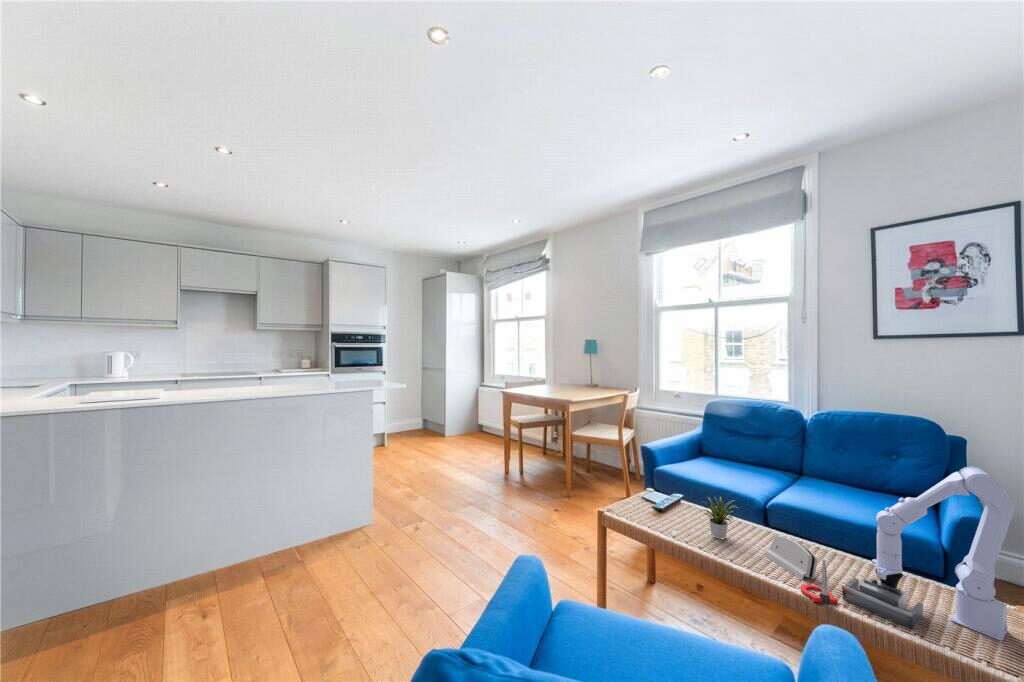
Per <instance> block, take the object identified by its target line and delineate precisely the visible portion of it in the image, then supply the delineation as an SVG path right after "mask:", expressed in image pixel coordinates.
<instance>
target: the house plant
mask: <svg viewBox="0 0 1024 682" xmlns="http://www.w3.org/2000/svg"><path fill="white" fill-rule="evenodd" d="M707 499H708V500H709V502H710V505H709V509H710V511H709V510H708V509H706V508H705V509H704V508H703V509H704V511H706V512H704V513H703V515H705V516H708V517H710V518H709V520H708V522H709V527H710V534H712V535H713V536H715V537H718V538H725V537H727V531H728V526H729V522H728V521H730V522H732V520H733V516H731V515H729V514H731V513H732V512H734V510H731V511H730V509H731V508H735V509H736V508H739V507H738V506H737V505H734V504H733V505H730V504H732V502H736V501H737V500H730V501H728V502H727V503H723V499H722V496H719V500H718V499H717V497H714V499H715V500H716V505H715V502H714V501H713V500H712V499H711V497H710V496H707ZM703 502H704V503H705V504H706V502H705V501H703ZM729 505H730V506H729ZM727 507H728V508H727ZM712 535H711V536H712ZM725 539H726V538H725Z"/></svg>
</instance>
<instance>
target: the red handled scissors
mask: <svg viewBox="0 0 1024 682" xmlns="http://www.w3.org/2000/svg"><path fill="white" fill-rule="evenodd" d="M821 563H822V564H821V565H822V566H821V586H818V585H815V584H802V585H801V586H800V592H801V593H802V594H804V595H805V596H806V597H808V598H810V599H811V600H812V602H813V603H821V604H827V605H831V604H832V605H833V604H834V605H838V604H839V602H838V601H839V600H838V599H837V598H835V597H834V595H833V593H832V592H830V591H829V590H828V581H827V580H828V579H827V577H828V575H827V566H826V560H825V559H822V562H821ZM808 590H815V591H818V592H819V596H818V595H815V594H813V593H811V592H809V591H808Z"/></svg>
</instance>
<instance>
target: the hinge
mask: <svg viewBox="0 0 1024 682" xmlns="http://www.w3.org/2000/svg"><path fill="white" fill-rule="evenodd" d="M764 556H765V557H766V558H768V559H769V560H770V561H772V562H774V563H775V562H776V563H775V564H776V565H778V566H780V567H781V568H783V569H784V570H786V571H787V572H789V573H790V574H792V575H794V576H795V577H796V578H798V579H799V580H801V581H803V580H804V578H805V577H806V578H810V579H812V580H815V578H816V571H817V565H818V558H817V557H816V555H815V554H814V553H813V552H812V551H811V550H810V549H809V548H807V547H806V546H805V545H803V544H802V543H800V542H799V541H796V540H794V539H791V538H788V537H785V536H779V535H778V536H777V535H776V536H774V538H773V540H772V542H771V544H770V546H769V549H767V550H766V551H765V554H764Z"/></svg>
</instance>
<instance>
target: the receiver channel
mask: <svg viewBox="0 0 1024 682" xmlns="http://www.w3.org/2000/svg"><path fill="white" fill-rule="evenodd" d="M859 581H860V580H859V578H857V577H854V578H852V579H851V580H850V581H849V582H847V583H846V584H845V585H843V584H842V585H841V589H842V600H844V601H847V602H849V603H852V604H853V605H856V606H858V607H860V608H864V609H865V610H868V611H870V612H873V613H875V614H877V615H879V616H882V617H884V618H886V619H887V620H888V619H889V620H891V621H893V622H896V623H898V624H901V625H902V626H904V627H907V628H909V629H912V630H913V629H914V628H915V626H916V625H917V624H918V623H919V622H920V621H921V620H922V619H923V617H924V604H923V603H920V602H919V601H918V602H917V603H916V605H915V606H913V608H912V609H911V610H910V611H907V610H906V609H905V610H902V609H900V608H898V607H895V606H893V605H890V604H888V603H885V602H883V601H880V600H878V599H876V598H873V597H871V596H868V595H866V594H863V593H861V592H859V584H860V583H859Z"/></svg>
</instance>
